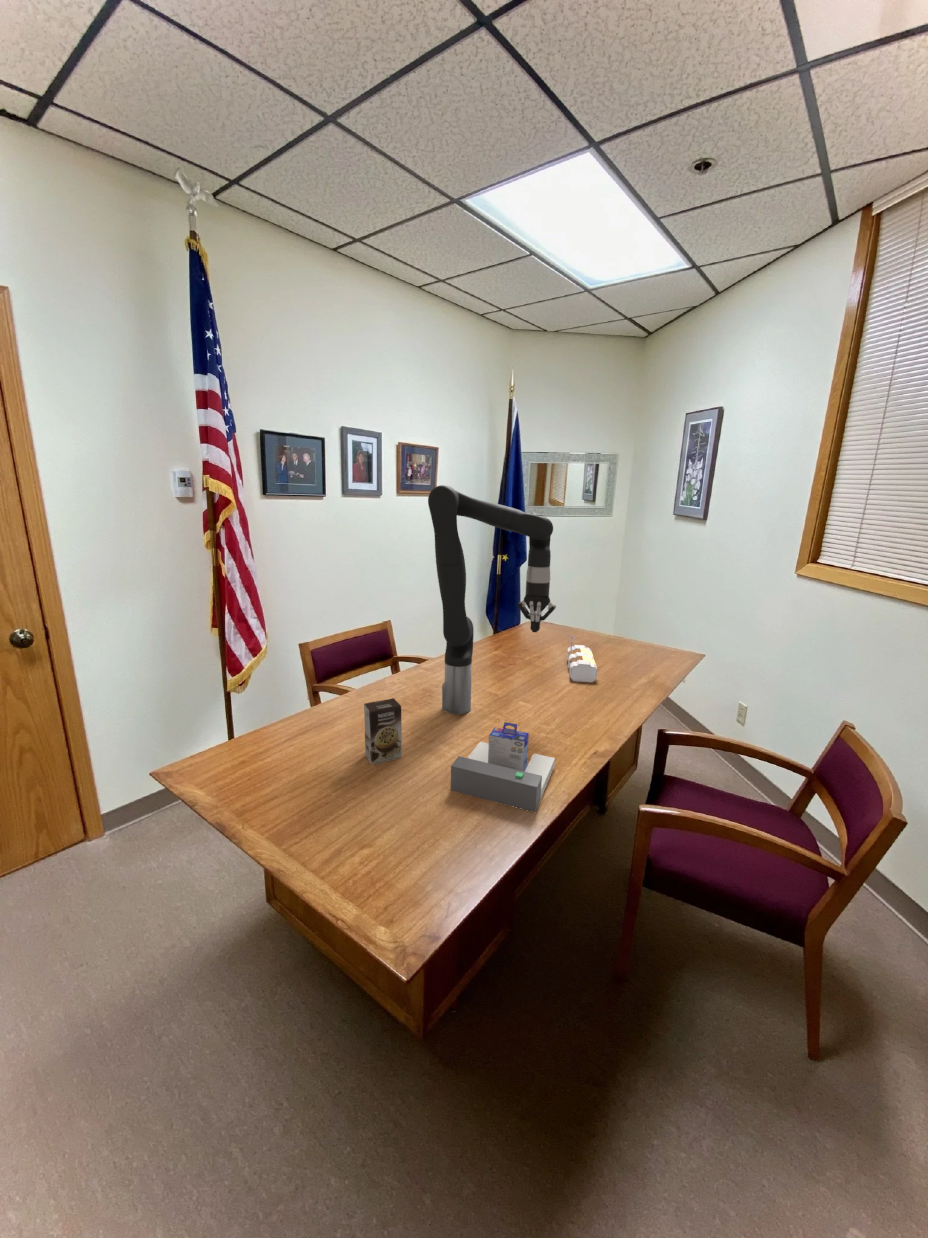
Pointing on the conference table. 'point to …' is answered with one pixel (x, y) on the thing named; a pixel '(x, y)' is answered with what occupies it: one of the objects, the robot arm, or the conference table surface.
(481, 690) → the conference table surface
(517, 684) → the conference table surface
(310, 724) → the conference table surface
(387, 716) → the dessert mix box
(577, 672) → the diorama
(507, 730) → the ink cartridge box
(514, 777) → the charging dock
